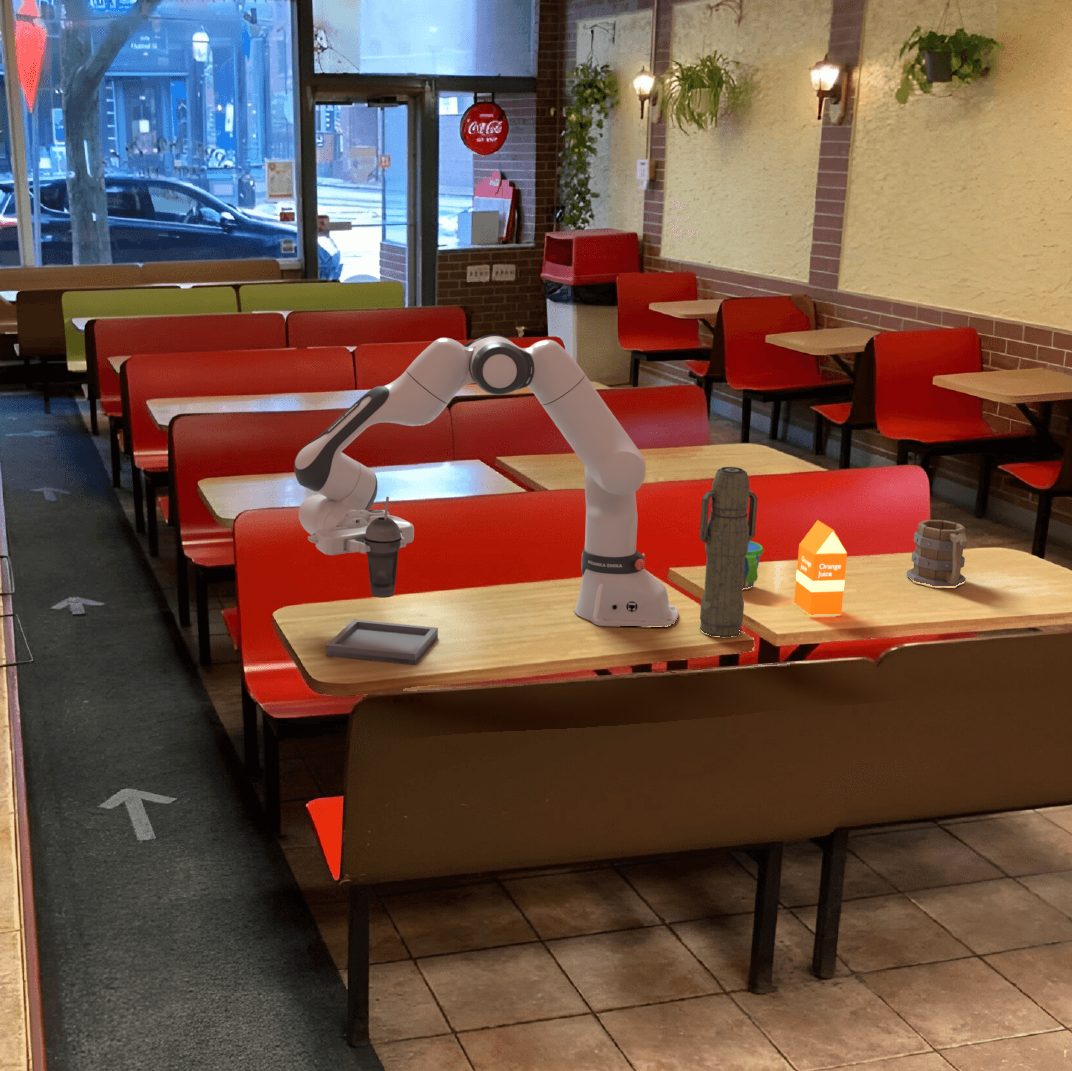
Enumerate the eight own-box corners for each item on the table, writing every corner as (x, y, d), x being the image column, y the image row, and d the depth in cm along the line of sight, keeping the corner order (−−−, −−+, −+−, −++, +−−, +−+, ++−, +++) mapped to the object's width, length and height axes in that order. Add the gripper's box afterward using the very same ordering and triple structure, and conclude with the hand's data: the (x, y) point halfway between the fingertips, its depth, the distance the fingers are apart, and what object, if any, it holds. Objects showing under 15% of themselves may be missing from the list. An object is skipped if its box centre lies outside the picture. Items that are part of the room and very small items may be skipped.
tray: (437, 637, 271) (437, 627, 271) (415, 665, 256) (415, 654, 256) (353, 629, 275) (353, 619, 274) (326, 655, 259) (326, 645, 259)
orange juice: (808, 618, 291) (816, 530, 286) (793, 605, 299) (800, 519, 294) (842, 617, 293) (850, 529, 287) (825, 604, 301) (833, 518, 296)
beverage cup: (382, 586, 267) (383, 489, 262) (408, 594, 263) (410, 496, 258) (356, 594, 262) (356, 495, 257) (382, 602, 258) (382, 502, 252)
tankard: (901, 572, 327) (907, 513, 323) (951, 573, 328) (958, 514, 324) (929, 598, 308) (936, 535, 304) (982, 598, 309) (990, 536, 305)
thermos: (756, 635, 279) (768, 472, 270) (707, 641, 275) (718, 475, 265) (733, 621, 287) (745, 463, 278) (685, 627, 282) (696, 466, 273)
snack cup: (769, 596, 305) (773, 554, 303) (725, 597, 303) (728, 555, 301) (747, 576, 320) (750, 535, 317) (705, 577, 318) (708, 536, 315)
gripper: (303, 521, 263) (338, 537, 252) (392, 508, 275) (429, 523, 264) (303, 552, 264) (338, 569, 254) (391, 538, 277) (428, 554, 266)
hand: (385, 546), depth 259 cm, fingers closed on beverage cup, 7 cm apart
